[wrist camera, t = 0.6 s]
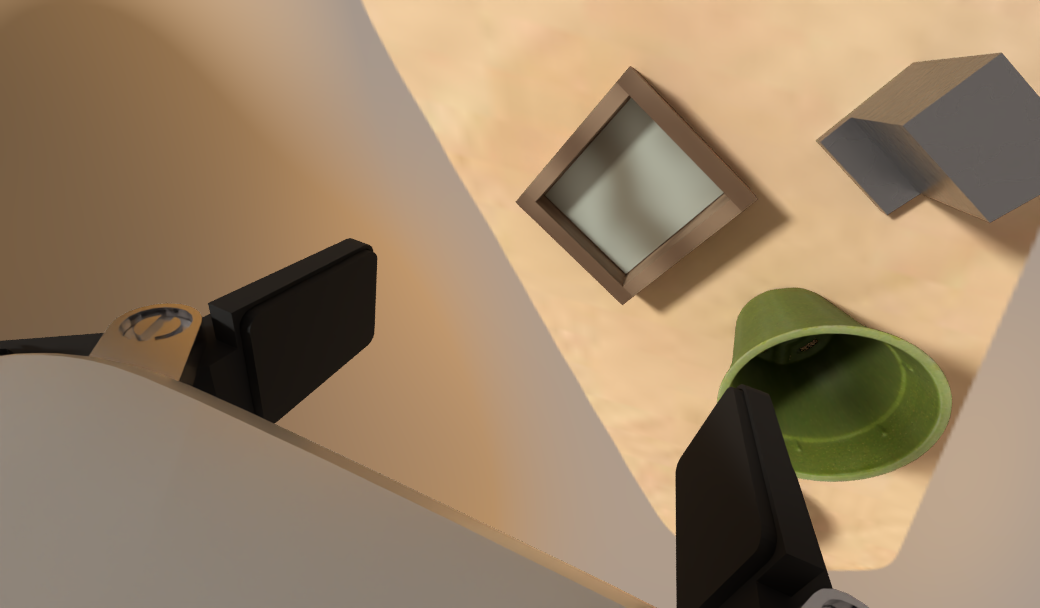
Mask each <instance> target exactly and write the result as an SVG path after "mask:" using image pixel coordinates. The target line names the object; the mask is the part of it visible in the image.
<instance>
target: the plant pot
mask: <svg viewBox="0 0 1040 608" xmlns="http://www.w3.org/2000/svg"><path fill="white" fill-rule="evenodd" d="M814 339H815V340H818V342H817V343H816V344H815V345H814V346H813V347H811V348H809V349H807V350H805V351H800V348H801V347H804V346H805V345H807V344H808V343H810V342H813V340H814ZM766 349H768V350H766ZM765 350H766V351H765ZM763 351H765V352H763ZM790 355H791V357H790ZM741 384H743V385H746V386H749V387H751V388H754V389H757V390H760V391H762V392H765V393H767V394H769V396H770V397H771V401H772V404H773V407H774V410H775V413H776V416H777V419H778V423H779V426H780V429H781V432H782V435H783V438H784V442H785V445H786V448H787V451H788V454H789V457H790V461H791V464H792V467H793V469H794V471H795V473H796V476H797V478H801V479H807V480H814V481H828V482H838V481H852V480H860V479H866V478H871V477H875V476H879V475H882V474H886V473H888V472H891V471H894V470H896V469H898V468H900V467H903V466H905V465H907V464H909V463H910V462H912V461H914V460H916V459H918V458H919V457H920V456H921V455H923V454H924V453H925V452H927V451H928V450H929V449H930V448H931V447H932V446H933V445H934V444H935V443H936V442H937V440H938V439H939V438H940V436H941V435H942V434H943V432H944V430H945V428H946V426H947V424H948V422H949V419H950V415H951V408H952V395H951V390H950V387H949V384H948V381H947V379H946V377H945V375H944V373H943V371H942V370H941V369H940V367H939V366H938V365H937V364H936V363H935V362H934V361H933V359H932V358H931V357H929V356H928V355H927V354H926V353H925V352H923V351H922V350H920V349H919V348H917V347H916V346H914V345H913V344H911V343H909V342H907V341H905V340H903V339H901V338H899V337H897V336H894V335H892V334H889V333H886V332H883V331H879V330H875V329H871V328H868V327H866V326H863V325H861V324H860V323H859V322H857V321H856V320H854V319H853V318H851V317H850V316H848V315H847V314H846V313H844V312H843V311H841V310H840V309H838V308H837V307H836V306H834V305H833V304H831V303H830V302H829V301H827V300H826V299H824V298H823V297H821V296H820V295H818V294H816V293H814V292H812V291H809V290H806V289H801V288H784V289H775V290H770V291H767V292H764V293H762V294H760V295H758V296H756V297H755V298H753V299H752V300H751V301H749V302H748V303H747V304H746V305H745V307H744V308H743V309H742V311H741V312H740V314H739V316H738V319H737V322H736V329H735V340H734V350H733V359H732V364H731V367H730V369H729V370H728V372H727V373H726V375H725V377H724V379H723V381H722V383H721V386H720V389H719V392H718V398H717V403H718V401H719V400H720V398H721V397H722V395H723V394H724V392H725V391H726V390H727V388H729V387H734V388H737V386H739V385H741Z"/></svg>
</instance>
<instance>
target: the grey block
mask: <svg viewBox="0 0 1040 608" xmlns="http://www.w3.org/2000/svg"><path fill="white" fill-rule="evenodd" d="M816 142H817V143H818V144H819V145H820V146H821V147H822V148H823V149H824V150H825V151H826V152H827V153H828V154H829V156H830V157H831V158H832V159H833V160H834V161H835V162H836V163H837V164H838V165H839V166H840V167H841V168H842V170H843V171H844V172H845V173H846V174H847V175H848V176H849V177H850V178H851V179H852V180H853V181H854V183H855V184H856V185H857V186H858V187H859V188H860V189H861V190H862V191H863V192H864V193H865V194H866V195H867V197H868V198H869V199H870V200H871V201H872V202H873V203H874V204H875V205H876V206H877V207H878V208H879V209H880V211H882V212H883V213H885V214H887V215H888V214H889V213H891V212H893V211H894V210H896V209H897V208H899V207H900V206H902V205H903V204H905V203H907V202H908V201H910V200H911V199H913V198H914V197H916V196H918V195H919V194H922V195H925V196H927V197H930V198H932V199H934V200H937V201H939V202H941V203H944V204H946V205H949V206H951V207H953V208H956V209H958V210H961V211H963V212H965V213H968V214H970V215H972V216H975V217H977V218H980V219H982V220H984V221H987V222H989V223H990V222H992V221H994V220H996V219H998V218H999V217H1001V216H1003V215H1005V214H1006V213H1008V212H1010V211H1012V210H1014V209H1015V208H1017V207H1019V206H1021V205H1022V204H1024V203H1026V202H1028V201H1030V200H1031V199H1033V198H1035V197H1037V196H1038V195H1040V97H1039V96H1038V95H1037V94H1036V92H1035V91H1034V90H1033V89H1032V88H1031V87H1030V85H1029V84H1028V83H1027V82H1026V81H1025V80H1024V78H1023V77H1022V76H1021V75H1020V74H1019V72H1018V71H1017V70H1016V69H1015V68H1014V67H1013V65H1012V64H1011V63H1010V62H1009V61H1008V59H1007V58H1006V57H1005V56H1004V55H1003V54H1002V53H995V54H986V55H977V56H968V57H959V58H950V59H941V60H932V61H923V62H914V63H912V64H911V65H910V66H908V67H907V68H906V69H905V70H903V71H902V72H901V73H900V74H898V75H897V76H896V77H895V78H893V79H892V80H891V81H889V82H888V83H887V84H886V85H884V86H883V87H882V88H881V89H879V90H878V91H877V92H876V93H874V94H873V95H872V96H871V97H869V98H868V99H867V100H866V101H864V102H863V103H862V104H861V105H859V106H858V107H857V108H856V109H854V110H853V111H852V112H851V113H849V114H848V115H847V116H846V117H844V118H843V119H842V120H841V121H839V122H838V123H837V124H836V125H834V126H833V127H832V128H831V129H829V130H828V131H827V132H826V133H824V134H823V135H822V136H821V137H819V138H818V139H817V140H816Z"/></svg>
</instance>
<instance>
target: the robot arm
mask: <svg viewBox="0 0 1040 608" xmlns="http://www.w3.org/2000/svg"><path fill="white" fill-rule="evenodd" d="M376 275H377V255H376V254H375V253H374V252H373V249H372V247H371V246H370V245H368V244H365V243H362V242H360V241H357V240H354V239H351V238H349V239H346V240H344V241H341V242H339V243H338V244H335V245H333V246H331V247H328V248H326V249H324V250H322V251H320V252H318V253H316V254H313V255H311V256H309V257H307V258H305V259H303V260H300V261H298V262H296V263H294V264H292V265H290V266H288V267H285V268H283V269H281V270H279V271H277V272H275V273H272V274H270V275H268V276H266V277H264V278H261V279H259V280H257V281H255V282H253V283H251V284H248V285H246V286H245V287H242V288H240V289H238V290H236V291H233V292H231V293H229V294H227V295H225V296H223V297H220V298H218V299H216V300H214V301H212V302H210V303H208V305H209V310H210V314H209V315H207V316H205V317H203V318H202V315H201V314H200V312H199V311H198V310H197V309H195V308H193V307H191V306H187V305H183V304H175V303H163V304H153V305H148V306H144V307H139V308H136V309H134V310H131V311H128V312H126V313H124V314H123V315H121V316H119V317H117V318H116V319H115V320H114V321H113V322H112V323H111V324H110V325H109V326H108V328H107V329H106V331H105V332H104V333H99V334H85V335H72V336H58V337H45V338H33V339H19V340H6V341H0V608H656V607H654V606H652V605H650V604H648V603H646V602H644V601H642V600H640V599H638V598H636V597H634V596H632V595H630V594H628V593H626V592H624V591H622V590H620V589H619V588H616V587H615V586H613V585H611V584H609V583H607V582H605V581H602V580H600V579H598V578H596V577H594V576H592V575H590V574H588V573H586V572H584V571H582V570H580V569H577V568H575V567H573V566H571V565H569V564H567V563H565V562H563V561H561V560H559V559H557V558H555V557H553V556H550V555H548V554H546V553H545V552H542V551H540V550H538V549H536V548H534V547H532V546H530V545H528V544H526V543H524V542H522V541H520V540H518V539H515V538H513V537H511V536H509V535H507V534H505V533H503V532H501V531H499V530H497V529H495V528H493V527H491V526H489V525H487V524H484V523H482V522H480V521H478V520H476V519H474V518H472V517H470V516H468V515H466V514H464V513H461V512H459V511H457V510H455V509H453V508H451V507H449V506H447V505H445V504H442V503H440V502H438V501H436V500H434V499H432V498H430V497H428V496H426V495H424V494H422V493H419V492H418V491H415V490H413V489H411V488H409V487H407V486H405V485H403V484H401V483H399V482H396V481H394V480H392V479H390V478H388V477H386V476H384V475H382V474H380V473H377V472H375V471H373V470H371V469H369V468H367V467H365V466H363V465H361V464H359V463H357V462H354V461H352V460H350V459H348V458H346V457H344V456H342V455H340V454H338V453H335V452H333V451H331V450H329V449H327V448H325V447H323V446H320V445H318V444H316V443H314V442H312V441H310V440H308V439H306V438H303V437H301V436H299V435H297V434H295V433H293V432H290V431H289V430H286V429H284V428H282V427H280V426H278V425H276V424H274V423H276V422H277V421H278V420H280V419H281V418H282V417H283V416H284V415H286V414H287V413H288V412H289V411H290V410H291V409H293V408H294V407H295V406H296V405H297V404H299V403H300V402H301V401H302V400H303V399H304V398H306V397H307V396H308V395H309V394H310V393H312V392H313V391H314V390H315V389H316V388H318V387H319V386H320V385H321V384H322V383H324V382H325V381H326V380H327V379H328V378H329V377H331V376H332V375H333V374H334V373H335V372H337V371H338V370H339V369H340V368H341V367H342V366H343V365H345V364H346V363H347V362H348V361H349V360H351V359H352V358H353V357H354V356H355V355H357V354H358V353H359V352H360V351H361V350H363V349H364V348H365V347H366V346H367V345H368V344H369V343H370V342H371V340H372V338H373V336H374V328H375V327H374V326H375V303H376V301H375V300H376ZM676 583H677V584H676V586H677V608H869V607H867V606H866V605H865V604H863V603H862V602H861V601H859V600H857V599H856V598H854V597H852V596H851V595H849V594H847V593H844V592H841V591H839V590H836V589H833V588H832V585H831V582H830V579H829V576H828V573H827V569H826V566H825V563H824V560H823V557H822V554H821V551H820V548H819V544H818V541H817V538H816V535H815V532H814V529H813V526H812V523H811V519H810V516H809V513H808V510H807V507H806V504H805V501H804V498H803V494H802V491H801V488H800V485H799V482H798V479H797V476H796V473H795V471H794V469H793V467H792V464H791V461H790V457H789V454H788V451H787V448H786V445H785V442H784V438H783V435H782V432H781V429H780V426H779V423H778V419H777V416H776V413H775V410H774V407H773V404H772V401H771V397H770V396H769V394H767V393H765V392H762V391H760V390H757V389H754V388H751V387H749V386H746V385H743V384H741V385H739V386H737V388H734V387H729V388H727V390H726V391H725V392H724V394H723V395H722V397H721V398H720V400H719V401H718V403H717V404H716V406H715V407H714V409H713V410H712V412H711V413H710V415H709V416H708V418H707V419H706V421H705V422H704V424H703V425H702V427H701V428H700V430H699V431H698V433H697V434H696V436H695V437H694V439H693V440H692V442H691V443H690V444H689V446H688V447H687V449H686V450H685V452H684V453H683V455H682V456H681V458H680V460H679V462H678V464H677V468H676Z"/></svg>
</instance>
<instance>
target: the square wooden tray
mask: <svg viewBox="0 0 1040 608" xmlns="http://www.w3.org/2000/svg"><path fill="white" fill-rule="evenodd" d="M757 200H758V199H757V197H756V196H755V195H754V194H753V192H752V191H751V190H750V188H749V187H748V186H747V185H746V184H745V183H744V182H743V181H742V180H741V179H740V178H739V177H738V176H737V175H736V174H735V173H734V172H733V171H732V170H731V169H730V168H729V167H728V166H727V164H726V163H725V162H724V161H723V160H722V159H721V158H720V157H719V156H718V155H717V154H716V153H715V152H714V151H713V150H712V149H711V148H710V147H709V146H708V145H707V144H706V143H705V142H704V141H703V139H702V138H701V137H700V136H699V135H698V134H697V133H696V132H695V131H694V130H693V129H692V128H691V127H690V126H689V125H688V124H687V123H686V122H685V121H684V120H683V119H682V118H681V117H680V116H679V115H678V113H677V112H676V111H675V110H674V109H673V108H672V107H671V106H670V105H669V104H668V103H667V102H666V101H665V100H664V99H663V98H662V97H661V96H660V95H659V94H658V93H657V92H656V91H655V90H654V88H653V87H652V86H651V85H650V84H649V83H648V82H647V81H646V80H645V79H644V78H643V77H642V76H641V75H640V74H639V73H638V72H637V71H636V70H635V69H634V68H632V67H631V66H630V67H629V68H628V69H627V70H626V71H625V73H624V74H623V75H622V76H621V77H620V79H619V80H618V81H617V82H616V83H615V85H614V86H613V87H612V88H611V89H610V90H609V92H608V93H607V94H606V95H605V96H604V98H603V99H602V100H601V101H600V102H599V104H598V105H597V106H596V107H595V108H594V109H593V111H592V112H591V113H590V114H589V115H588V117H587V118H586V119H585V120H584V121H583V123H582V124H581V125H580V126H579V127H578V128H577V130H576V131H575V132H574V133H573V134H572V136H571V137H570V138H569V139H568V140H567V142H566V143H565V144H564V145H563V146H562V147H561V149H560V150H559V151H558V152H557V153H556V155H555V156H554V157H553V158H552V159H551V161H550V162H549V163H548V164H547V165H546V166H545V168H544V169H543V170H542V171H541V172H540V174H539V175H538V176H537V177H536V178H535V180H534V181H533V182H532V183H531V184H530V185H529V187H528V188H527V189H526V190H525V191H524V193H523V194H522V195H521V196H520V197H519V199H518V200H517V201H516V203H517V204H518V205H519V206H520V207H521V208H522V209H523V210H524V211H525V212H526V213H527V214H528V215H529V216H530V217H531V218H532V219H534V220H535V221H536V222H537V223H538V224H539V225H540V226H541V227H542V228H543V229H544V230H545V231H546V232H547V233H548V234H549V235H550V236H551V237H552V238H553V239H554V240H555V241H556V242H557V243H558V244H559V245H560V246H562V247H563V248H564V249H565V250H566V251H567V252H568V253H569V254H570V255H571V256H572V257H573V258H574V259H575V260H576V261H577V262H578V263H579V264H580V265H581V266H582V267H583V268H584V269H585V270H586V271H587V272H588V273H590V274H591V275H592V276H593V277H594V278H595V279H596V280H597V281H598V282H599V283H600V284H601V285H602V286H603V287H604V288H605V289H606V290H607V291H608V292H609V293H610V294H611V295H612V296H613V297H614V298H615V299H616V300H618V301H619V302H620V303H621V304H622V305H623V304H625V303H626V302H627V301H628V300H630V299H631V298H632V297H634V296H635V295H636V294H637V293H639V292H640V291H641V290H643V289H644V288H645V287H646V286H648V285H649V284H650V283H652V282H653V281H654V280H655V279H657V278H658V277H659V276H660V275H662V274H663V273H664V272H666V271H667V270H668V269H669V268H671V267H672V266H673V265H675V264H676V263H677V262H678V261H680V260H681V259H682V258H684V257H685V256H686V255H687V254H689V253H690V252H691V251H693V250H694V249H695V248H696V247H698V246H699V245H700V244H701V243H703V242H704V241H705V240H707V239H708V238H709V237H710V236H712V235H713V234H714V233H716V232H717V231H718V230H719V229H721V228H722V227H723V226H725V225H726V224H727V223H728V222H730V221H731V220H732V219H734V218H735V217H736V216H737V215H739V214H740V213H741V212H743V211H744V210H745V209H746V208H748V207H749V206H750V205H751V204H753V203H754V202H755V201H757Z"/></svg>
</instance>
